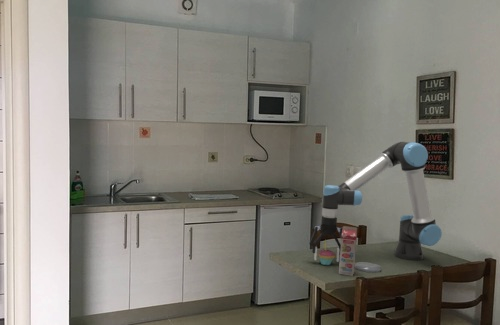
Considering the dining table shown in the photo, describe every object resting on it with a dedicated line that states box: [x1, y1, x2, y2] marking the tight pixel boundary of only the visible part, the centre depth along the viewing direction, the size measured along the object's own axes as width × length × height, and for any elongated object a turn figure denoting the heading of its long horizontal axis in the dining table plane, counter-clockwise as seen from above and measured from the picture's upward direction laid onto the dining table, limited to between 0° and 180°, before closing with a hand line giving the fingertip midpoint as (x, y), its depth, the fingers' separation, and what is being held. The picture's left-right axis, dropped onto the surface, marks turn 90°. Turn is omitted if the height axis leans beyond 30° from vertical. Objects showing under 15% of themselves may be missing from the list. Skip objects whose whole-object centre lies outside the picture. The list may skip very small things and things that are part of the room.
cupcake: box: [317, 239, 336, 266], centre depth 230 cm, size 9×8×12 cm
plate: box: [354, 261, 382, 273], centre depth 227 cm, size 13×13×1 cm
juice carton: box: [338, 225, 358, 277], centre depth 217 cm, size 7×7×22 cm
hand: (326, 260), depth 230 cm, fingers open, 10 cm apart
